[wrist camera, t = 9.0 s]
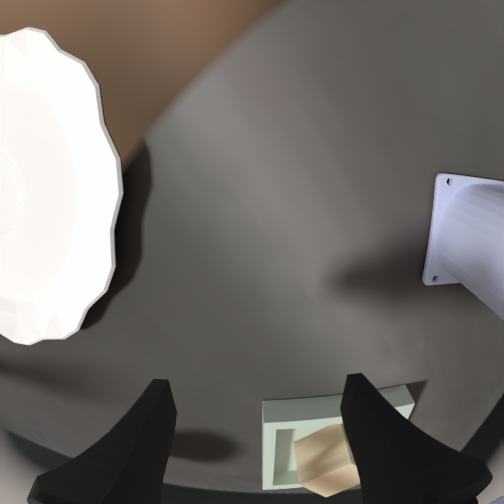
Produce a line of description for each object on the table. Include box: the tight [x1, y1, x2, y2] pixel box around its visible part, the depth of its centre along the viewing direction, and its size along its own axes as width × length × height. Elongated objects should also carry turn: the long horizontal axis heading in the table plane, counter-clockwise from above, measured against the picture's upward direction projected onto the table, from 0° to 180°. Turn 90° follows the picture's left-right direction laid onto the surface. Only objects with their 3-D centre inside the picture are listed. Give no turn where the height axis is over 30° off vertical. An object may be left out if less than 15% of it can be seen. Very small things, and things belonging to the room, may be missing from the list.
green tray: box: [262, 385, 415, 490], centre depth 25 cm, size 13×13×2 cm
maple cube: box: [294, 423, 360, 497], centre depth 24 cm, size 5×5×5 cm
